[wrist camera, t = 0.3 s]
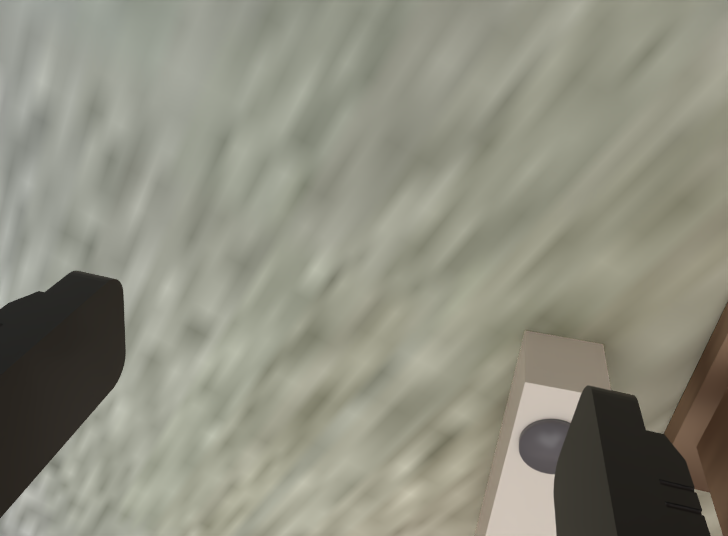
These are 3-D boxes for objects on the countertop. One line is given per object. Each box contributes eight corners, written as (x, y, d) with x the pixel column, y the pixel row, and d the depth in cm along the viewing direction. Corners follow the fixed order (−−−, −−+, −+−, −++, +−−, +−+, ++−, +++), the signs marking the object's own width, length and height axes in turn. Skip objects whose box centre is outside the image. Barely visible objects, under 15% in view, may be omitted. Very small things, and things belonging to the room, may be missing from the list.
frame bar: (524, 326, 31) (525, 388, 27) (602, 340, 31) (613, 405, 27) (470, 550, 39) (464, 620, 36) (531, 563, 39) (531, 636, 35)
